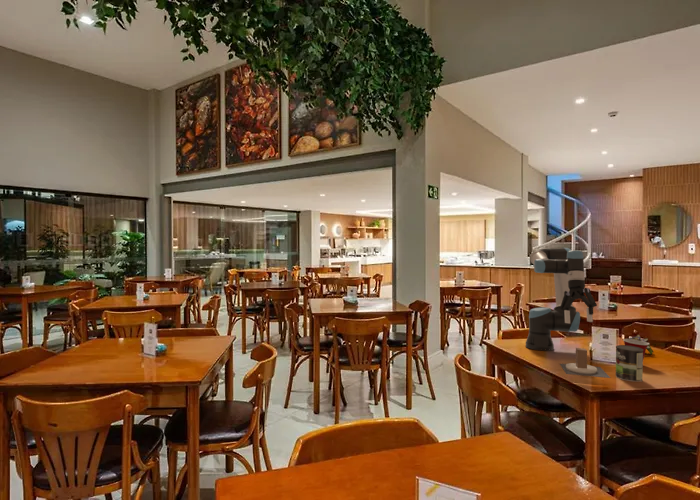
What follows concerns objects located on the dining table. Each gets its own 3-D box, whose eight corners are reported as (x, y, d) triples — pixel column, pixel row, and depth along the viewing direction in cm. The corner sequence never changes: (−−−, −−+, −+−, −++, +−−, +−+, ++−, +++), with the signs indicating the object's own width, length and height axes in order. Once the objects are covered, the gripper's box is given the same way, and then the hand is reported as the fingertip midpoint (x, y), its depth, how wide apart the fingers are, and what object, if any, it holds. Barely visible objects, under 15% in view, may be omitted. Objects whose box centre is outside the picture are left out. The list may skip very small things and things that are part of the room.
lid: (563, 365, 205) (563, 345, 205) (593, 367, 201) (593, 347, 201) (568, 372, 193) (569, 351, 193) (600, 375, 189) (600, 353, 189)
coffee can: (624, 382, 181) (625, 350, 181) (610, 375, 191) (610, 344, 191) (648, 382, 181) (649, 350, 181) (633, 375, 191) (633, 345, 191)
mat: (559, 364, 208) (559, 363, 208) (599, 367, 203) (599, 366, 203) (566, 374, 191) (566, 373, 191) (610, 379, 186) (610, 377, 186)
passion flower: (636, 363, 230) (621, 345, 233) (636, 355, 239) (622, 338, 242) (657, 355, 224) (641, 336, 227) (656, 347, 233) (641, 329, 235)
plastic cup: (653, 368, 203) (653, 343, 203) (628, 366, 205) (628, 342, 205) (642, 362, 214) (642, 339, 213) (619, 360, 216) (619, 337, 216)
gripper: (551, 283, 221) (553, 322, 215) (591, 275, 198) (593, 319, 192) (563, 285, 223) (564, 324, 217) (603, 277, 200) (606, 321, 194)
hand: (578, 322), depth 205 cm, fingers open, 13 cm apart
